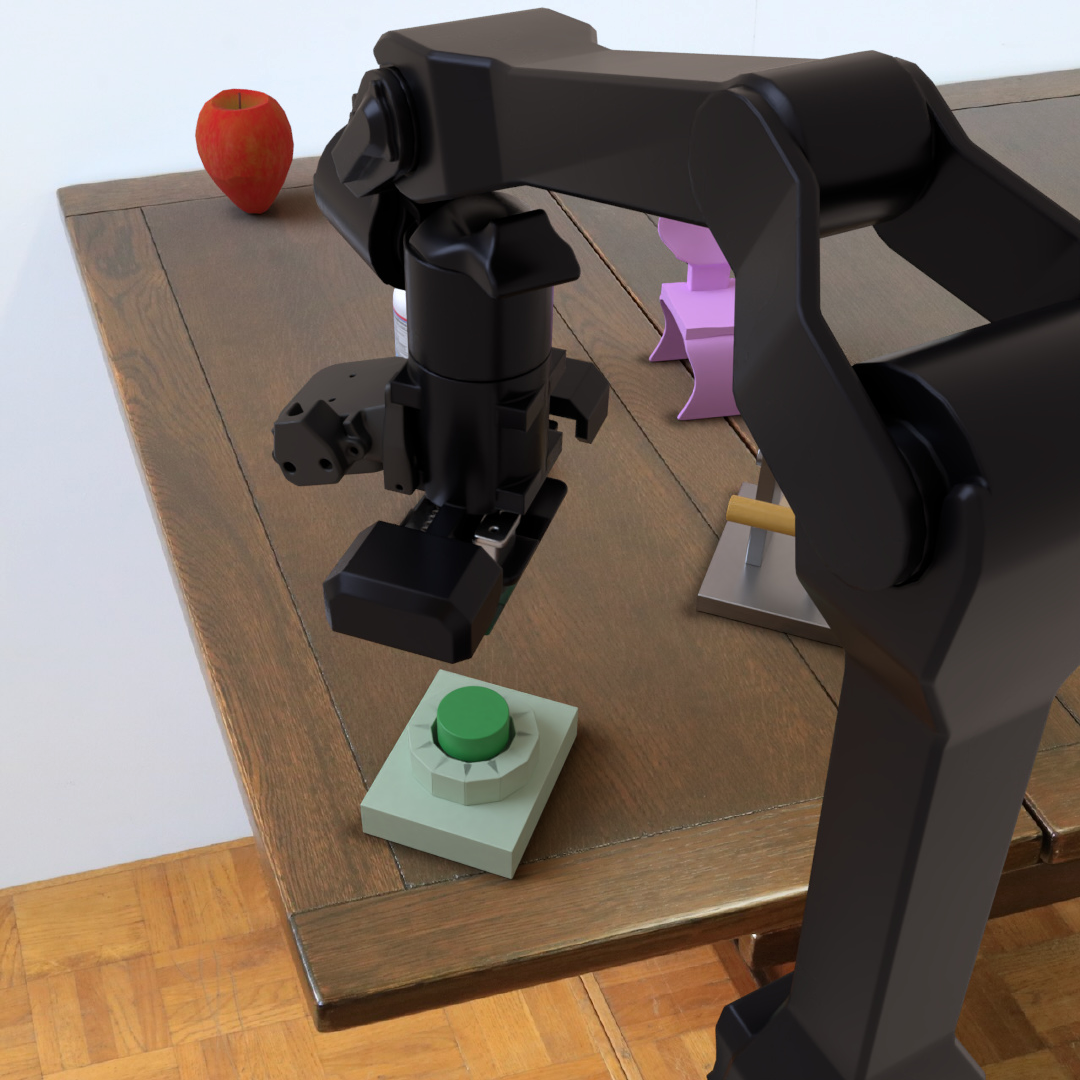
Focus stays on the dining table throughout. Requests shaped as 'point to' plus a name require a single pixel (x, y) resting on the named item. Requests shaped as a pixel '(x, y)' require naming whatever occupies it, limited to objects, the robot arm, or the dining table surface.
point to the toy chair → (699, 319)
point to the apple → (245, 146)
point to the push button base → (471, 782)
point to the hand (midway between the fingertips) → (480, 628)
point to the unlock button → (473, 723)
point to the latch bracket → (760, 574)
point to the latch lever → (762, 514)
